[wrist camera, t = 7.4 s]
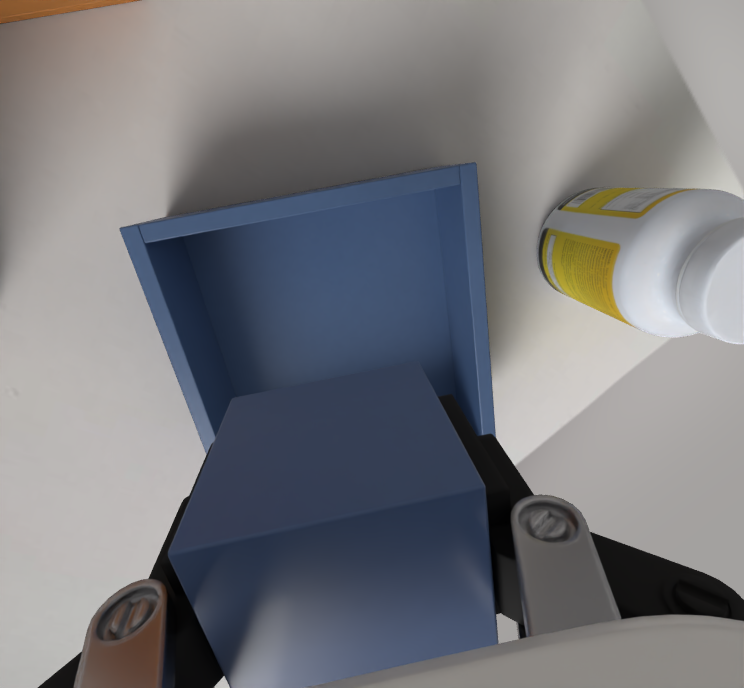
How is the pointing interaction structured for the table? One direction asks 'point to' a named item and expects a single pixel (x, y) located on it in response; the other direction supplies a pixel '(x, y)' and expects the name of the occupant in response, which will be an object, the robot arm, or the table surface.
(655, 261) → the pill bottle
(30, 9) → the amber bin
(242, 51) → the table surface
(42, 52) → the table surface
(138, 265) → the blue bin
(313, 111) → the table surface
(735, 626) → the robot arm
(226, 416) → the blue block
